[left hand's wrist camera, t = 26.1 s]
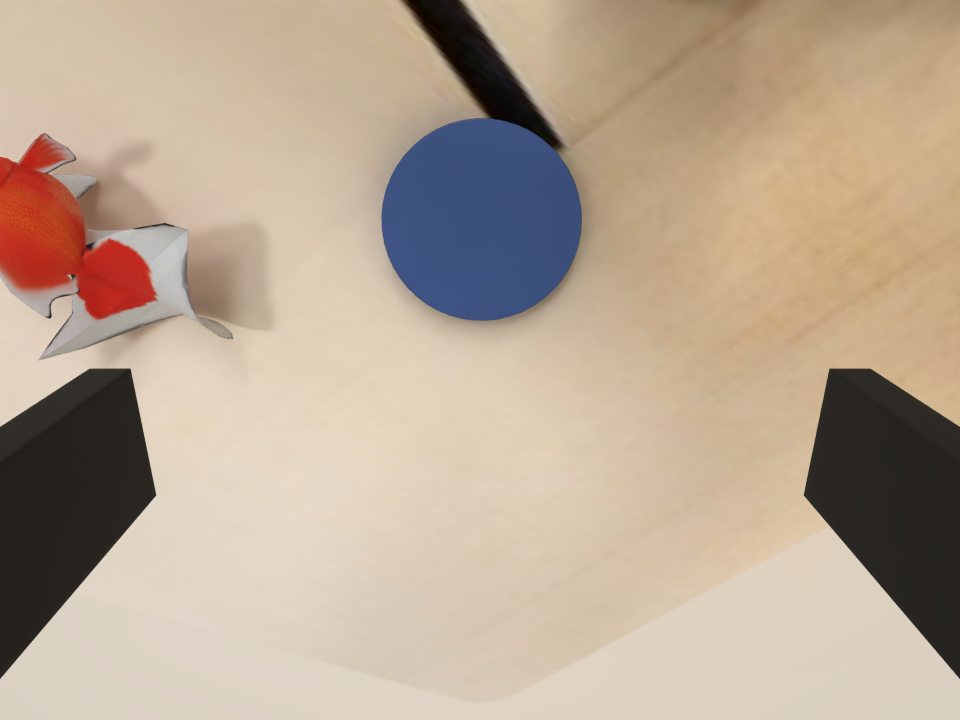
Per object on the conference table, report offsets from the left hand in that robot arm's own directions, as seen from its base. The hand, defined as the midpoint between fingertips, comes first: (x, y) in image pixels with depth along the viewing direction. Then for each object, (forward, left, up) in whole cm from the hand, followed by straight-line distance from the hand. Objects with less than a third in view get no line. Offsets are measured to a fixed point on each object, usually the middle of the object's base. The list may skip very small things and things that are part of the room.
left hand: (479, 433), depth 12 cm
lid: (0, 0, -26) cm, 26 cm away
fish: (-20, -1, -27) cm, 34 cm away
